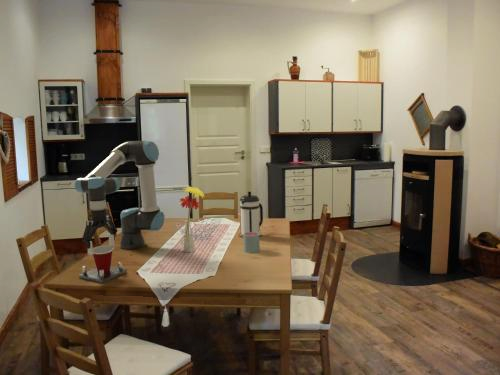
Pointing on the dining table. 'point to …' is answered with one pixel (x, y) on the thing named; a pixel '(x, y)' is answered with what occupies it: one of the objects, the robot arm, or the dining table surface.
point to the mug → (251, 242)
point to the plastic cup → (103, 257)
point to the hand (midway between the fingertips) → (101, 250)
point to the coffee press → (250, 214)
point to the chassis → (102, 273)
